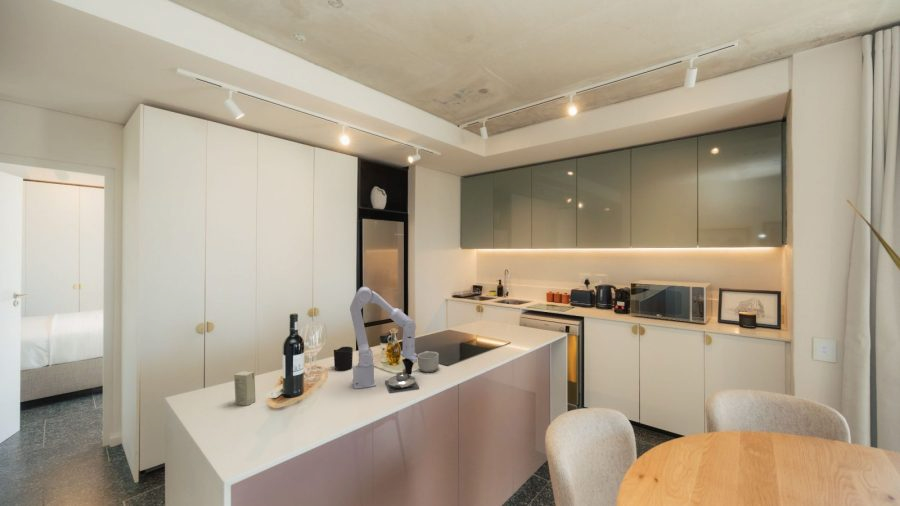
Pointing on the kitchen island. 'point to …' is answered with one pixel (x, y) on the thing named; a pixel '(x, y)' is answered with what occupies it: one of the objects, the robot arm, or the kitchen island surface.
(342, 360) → the pen holder
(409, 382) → the turntable
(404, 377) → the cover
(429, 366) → the teacup
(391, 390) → the turntable base
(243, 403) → the skincare box
